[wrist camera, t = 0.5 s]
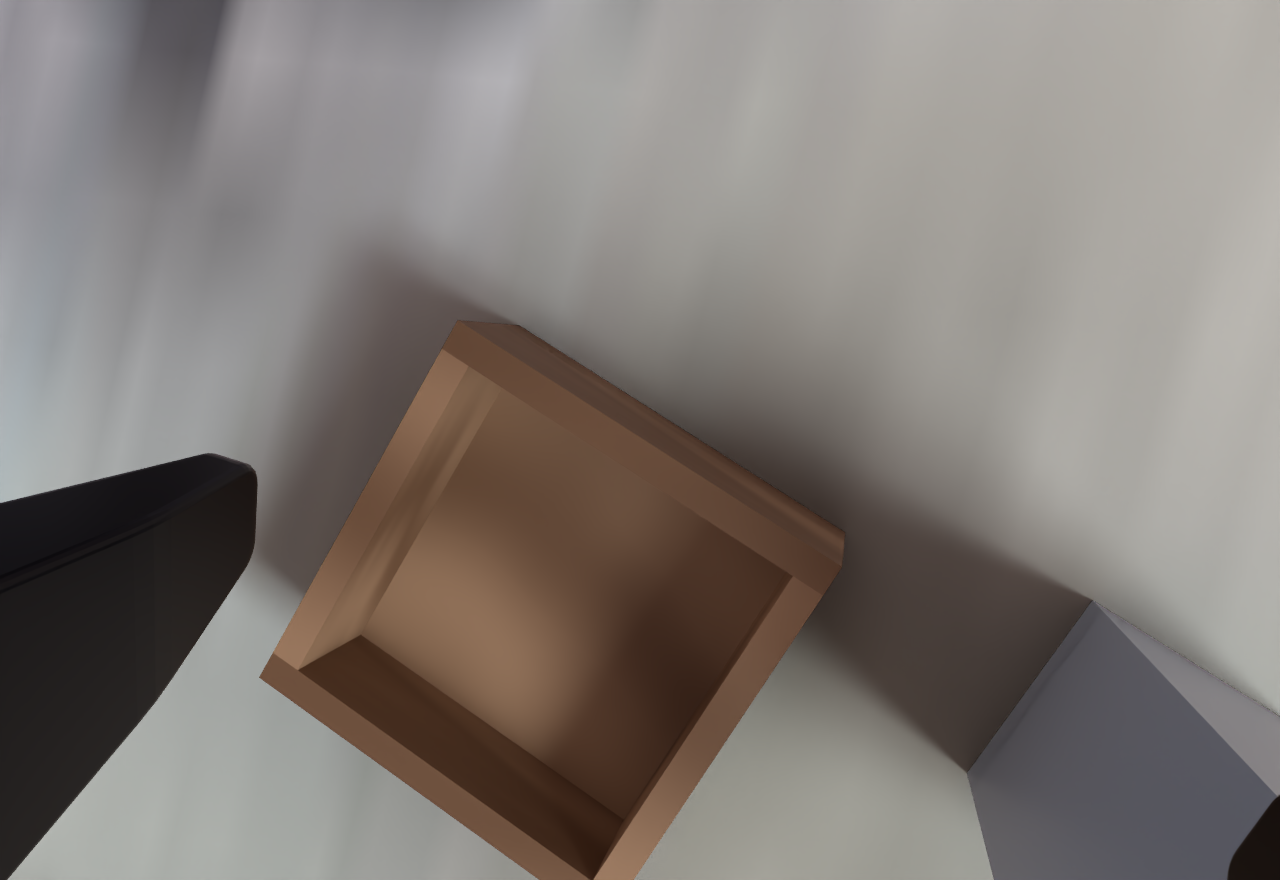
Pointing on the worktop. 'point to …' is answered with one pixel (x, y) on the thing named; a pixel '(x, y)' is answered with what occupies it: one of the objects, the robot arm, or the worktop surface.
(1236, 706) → the small plastic crate
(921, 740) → the worktop surface
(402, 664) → the wooden crate
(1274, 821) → the robot arm
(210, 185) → the worktop surface
